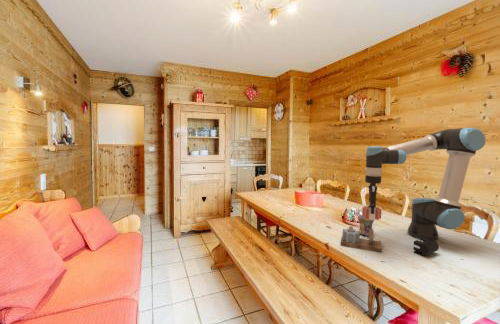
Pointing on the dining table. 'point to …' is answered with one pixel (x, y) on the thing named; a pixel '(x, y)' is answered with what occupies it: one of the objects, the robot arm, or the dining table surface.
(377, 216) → the red gear
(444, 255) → the dining table surface
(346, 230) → the gear
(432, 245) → the end cap
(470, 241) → the dining table surface
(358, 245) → the gear board
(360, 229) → the mug
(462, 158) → the robot arm
